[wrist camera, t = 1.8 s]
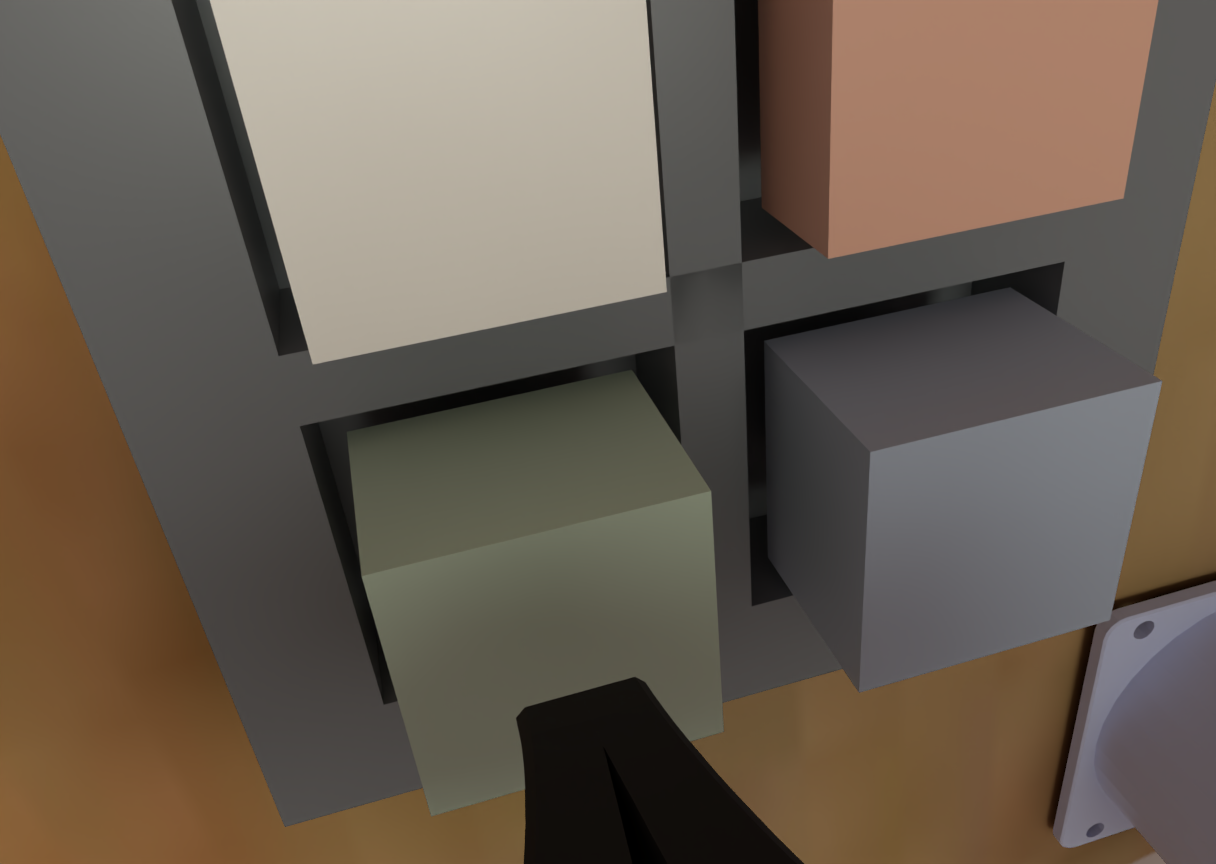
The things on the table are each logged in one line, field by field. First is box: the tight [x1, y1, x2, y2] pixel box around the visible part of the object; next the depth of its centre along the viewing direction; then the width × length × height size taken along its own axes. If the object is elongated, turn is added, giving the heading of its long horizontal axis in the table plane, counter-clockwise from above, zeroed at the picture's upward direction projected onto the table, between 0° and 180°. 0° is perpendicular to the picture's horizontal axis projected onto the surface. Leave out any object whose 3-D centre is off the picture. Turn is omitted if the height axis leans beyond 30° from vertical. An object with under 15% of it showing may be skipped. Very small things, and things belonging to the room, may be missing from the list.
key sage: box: [347, 370, 724, 816], centre depth 14 cm, size 4×4×3 cm
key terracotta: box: [758, 0, 1158, 259], centre depth 12 cm, size 4×4×2 cm
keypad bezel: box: [0, 0, 1216, 827], centre depth 14 cm, size 15×15×3 cm
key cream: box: [210, 0, 667, 364], centre depth 11 cm, size 4×4×2 cm
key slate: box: [764, 287, 1162, 693], centre depth 15 cm, size 4×4×3 cm
